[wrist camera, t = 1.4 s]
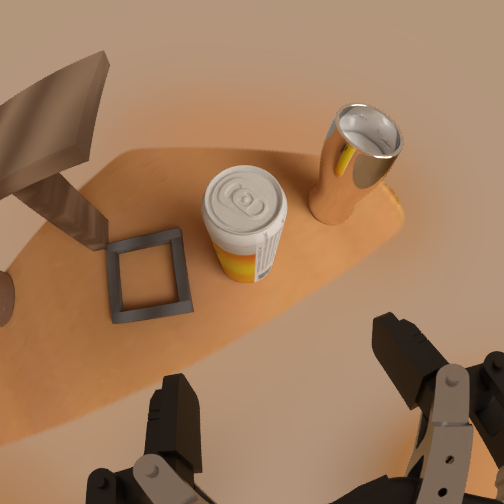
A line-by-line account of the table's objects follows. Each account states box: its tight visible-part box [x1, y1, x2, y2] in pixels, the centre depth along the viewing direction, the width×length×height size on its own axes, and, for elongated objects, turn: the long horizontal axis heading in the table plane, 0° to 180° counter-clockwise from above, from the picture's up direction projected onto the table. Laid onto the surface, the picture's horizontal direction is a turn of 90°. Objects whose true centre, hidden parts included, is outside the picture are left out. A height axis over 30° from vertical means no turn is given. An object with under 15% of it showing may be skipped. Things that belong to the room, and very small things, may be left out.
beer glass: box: [308, 103, 404, 225], centre depth 28 cm, size 7×7×15 cm
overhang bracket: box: [0, 51, 194, 324], centre depth 22 cm, size 13×16×23 cm
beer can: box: [201, 165, 287, 283], centre depth 26 cm, size 6×6×15 cm
